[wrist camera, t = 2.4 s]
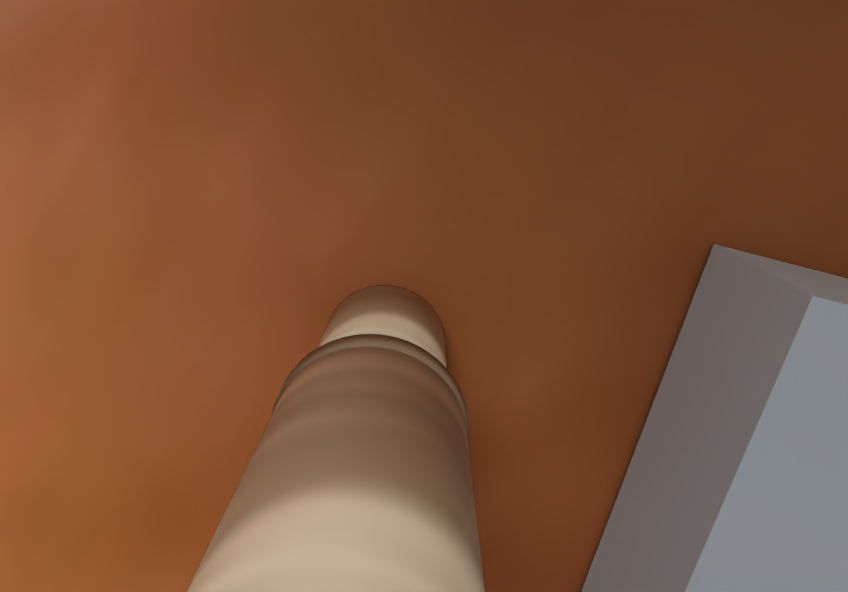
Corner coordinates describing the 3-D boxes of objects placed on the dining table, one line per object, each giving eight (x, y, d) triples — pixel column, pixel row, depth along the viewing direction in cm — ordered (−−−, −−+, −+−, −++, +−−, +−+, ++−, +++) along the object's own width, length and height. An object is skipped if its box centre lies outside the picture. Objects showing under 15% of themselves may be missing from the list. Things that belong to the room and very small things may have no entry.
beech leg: (329, 257, 19) (-98, 978, 3) (473, 292, 19) (666, 1104, 4) (300, 390, 20) (-120, 1376, 5) (436, 422, 20) (467, 1452, 5)
